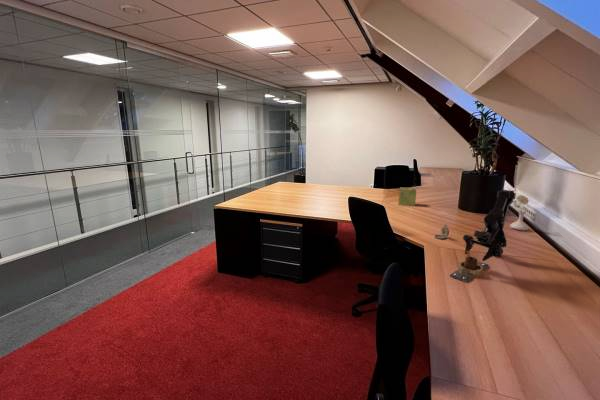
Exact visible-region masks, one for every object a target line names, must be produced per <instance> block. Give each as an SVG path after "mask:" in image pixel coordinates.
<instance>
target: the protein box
mask: <svg viewBox="0 0 600 400" xmlns="http://www.w3.org/2000/svg"><path fill="white" fill-rule="evenodd" d="M398 191H399V192H398V203H397V204H398V205H400V206H408V207H410V206H411V207H416V198H417V187H415V188H414V187H399V190H398Z"/></svg>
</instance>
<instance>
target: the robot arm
mask: <svg viewBox="0 0 600 400" xmlns="http://www.w3.org/2000/svg"><path fill="white" fill-rule="evenodd" d="M496 193H497V194H496V198H497V199H496V202H495V205H494V207H493V208H492V209H490V210H489V212H488V213H487V214H486V216H484V219H483V222H484V227H485V228H484V230H480V231H479V230H477V229H476V230H475V231H474V234H473V236H472V235H470V234H465V235H463V237H462V239H463V241H464V243H465V250H464V255H467V253H468V254H469V253H470V251H471V250H472V248H473V247H474V245H479V246H481V247H483V248H488V250H487V252H486V253H485V254H484V255H483V258H482V261H481V262H485V261H487V260H488V259H490V258H493V257H496V258H502V255H503V253H504V249H503V248H506V247H507V238H506V234H505V232H504V227H505V223H506V219H507V215H508V210H509V207H510V205H513V203H514V201H515V199H516V198H517V193H516V192H514V190H508V189H500V190H498V191H497V192H496ZM474 237H475V238H474Z"/></svg>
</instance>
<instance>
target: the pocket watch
mask: <svg viewBox="0 0 600 400" xmlns="http://www.w3.org/2000/svg"><path fill="white" fill-rule="evenodd" d="M447 226H448V223H444V226H442V227H441V230H440V231H441V234H435V235H434V238H435V239H438V240H445V239H446V237H448V236H449V235H450V230H449V228H448V227H447Z"/></svg>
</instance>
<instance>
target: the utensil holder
mask: <svg viewBox="0 0 600 400" xmlns="http://www.w3.org/2000/svg"><path fill="white" fill-rule="evenodd" d="M474 252H475V250H474V251H472V254H475V253H474ZM466 255H467V256H466V257H465V260H464V261H465V262H464V268H467V269H470V270H477V261H478V259H477V257H478V255H476V257H475V256H471V255H470V253H469V252H468V253H467V254H466Z"/></svg>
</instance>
